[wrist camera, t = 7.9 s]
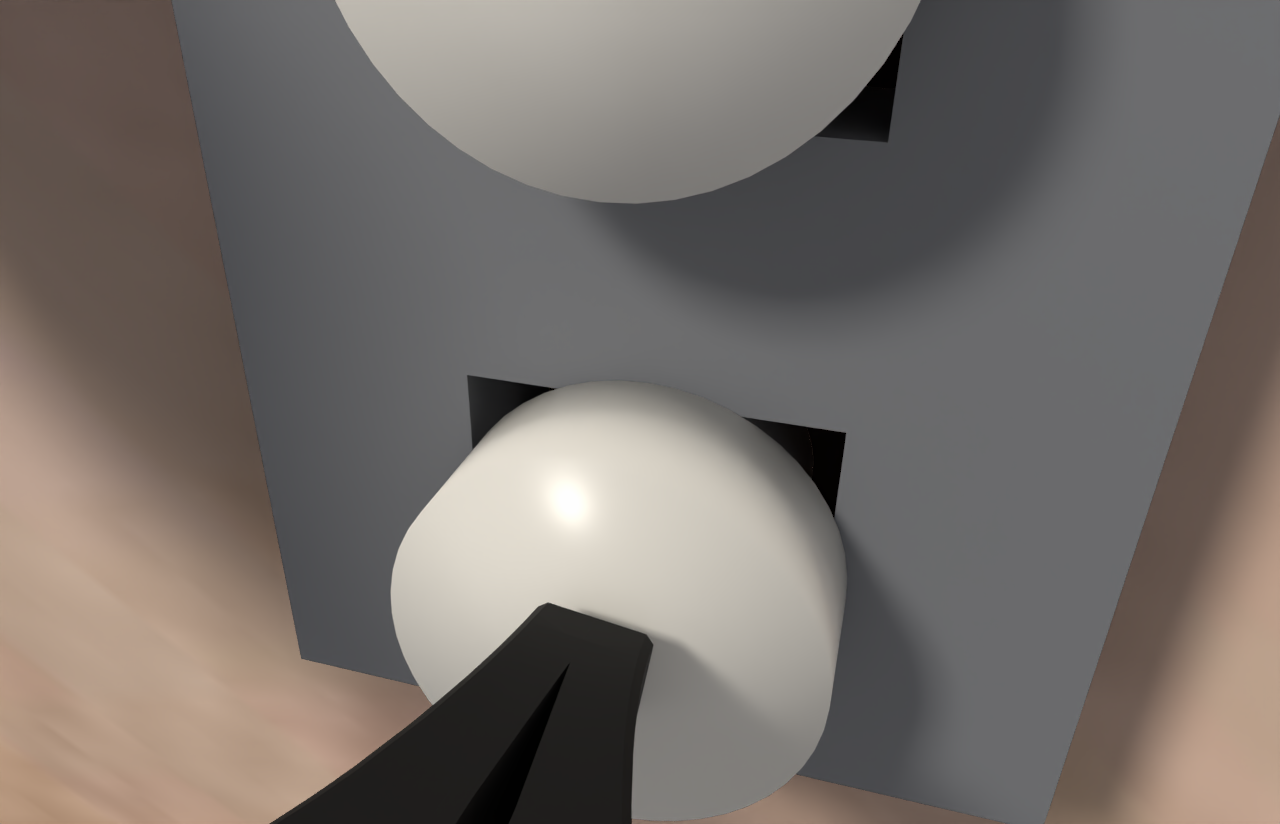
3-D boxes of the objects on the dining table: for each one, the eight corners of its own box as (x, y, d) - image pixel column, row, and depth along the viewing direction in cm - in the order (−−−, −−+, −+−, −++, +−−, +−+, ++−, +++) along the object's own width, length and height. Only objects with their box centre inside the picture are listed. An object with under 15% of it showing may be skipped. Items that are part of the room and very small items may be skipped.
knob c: (537, 558, 18) (412, 764, 14) (527, 274, 15) (366, 424, 11) (842, 616, 17) (805, 864, 13) (888, 319, 14) (861, 508, 10)
